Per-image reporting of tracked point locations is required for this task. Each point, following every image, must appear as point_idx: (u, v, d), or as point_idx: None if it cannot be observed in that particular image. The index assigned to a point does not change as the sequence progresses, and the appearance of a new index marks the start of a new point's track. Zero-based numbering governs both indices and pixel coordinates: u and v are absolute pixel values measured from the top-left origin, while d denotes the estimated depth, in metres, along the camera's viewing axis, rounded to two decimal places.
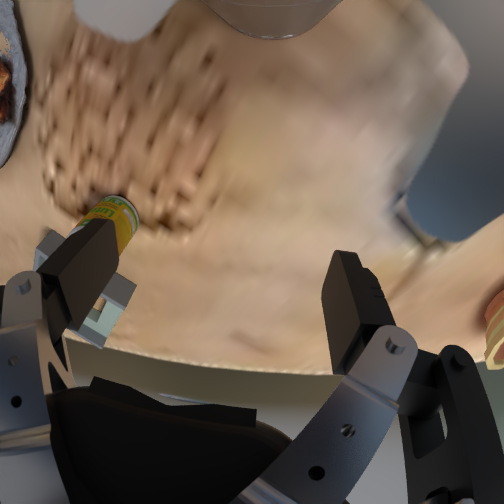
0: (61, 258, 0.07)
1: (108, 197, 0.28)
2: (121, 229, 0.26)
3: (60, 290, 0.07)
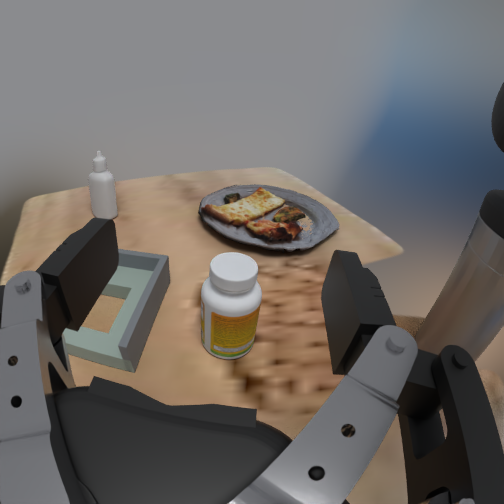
0: (61, 258, 0.07)
1: None
2: (251, 328, 0.26)
3: (60, 290, 0.07)
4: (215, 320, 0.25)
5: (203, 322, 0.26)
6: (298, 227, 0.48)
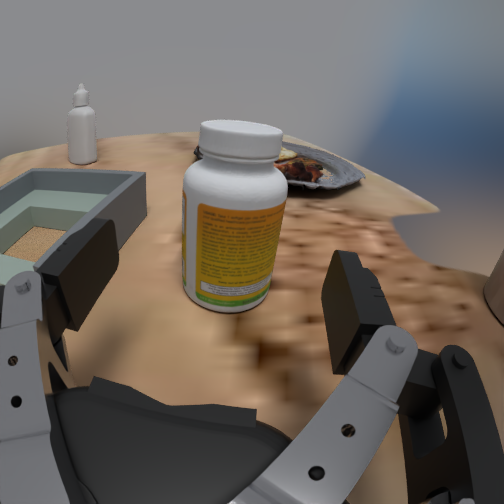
0: (61, 258, 0.07)
1: None
2: (270, 248, 0.15)
3: (60, 290, 0.07)
4: (204, 222, 0.13)
5: (184, 238, 0.15)
6: (318, 170, 0.37)
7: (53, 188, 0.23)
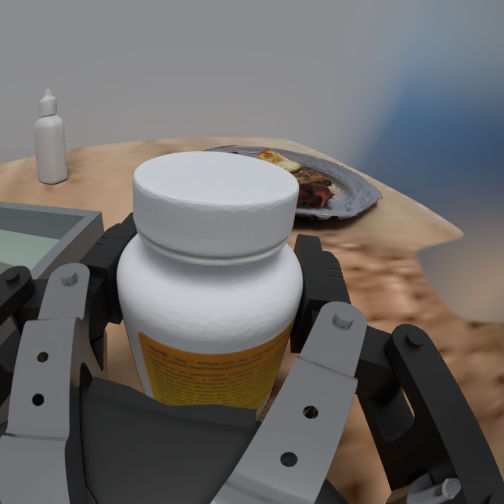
0: (106, 251, 0.08)
1: None
2: (269, 379, 0.09)
3: (107, 283, 0.08)
4: (153, 359, 0.07)
5: (133, 355, 0.09)
6: (328, 191, 0.31)
7: (2, 227, 0.16)
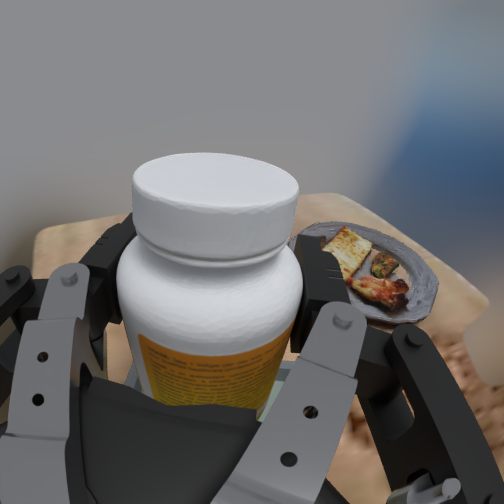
0: (106, 251, 0.08)
1: None
2: (269, 380, 0.09)
3: (107, 282, 0.08)
4: (153, 361, 0.07)
5: None
6: (407, 286, 0.37)
7: None
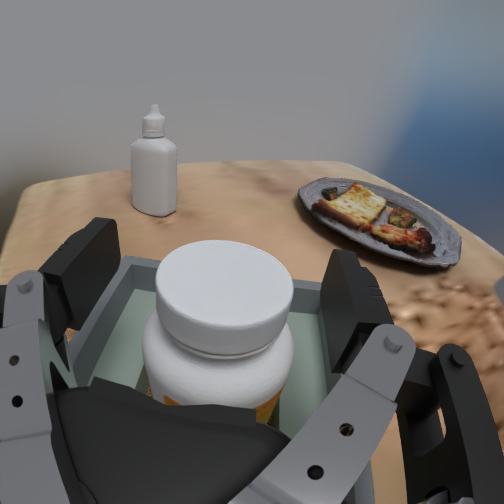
0: (63, 258, 0.07)
1: None
2: (265, 420, 0.10)
3: (62, 290, 0.07)
4: None
5: None
6: (430, 235, 0.33)
7: None
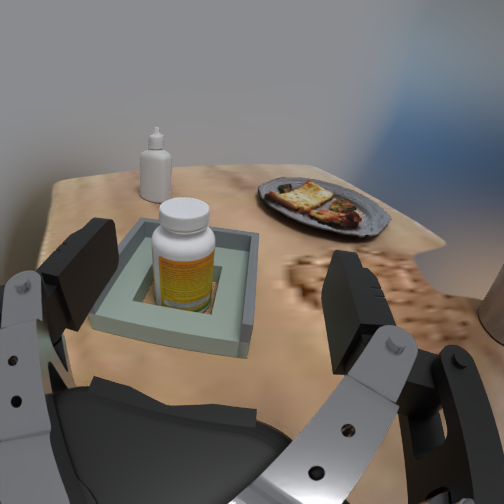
0: (61, 258, 0.07)
1: None
2: (203, 280, 0.24)
3: (60, 290, 0.07)
4: (162, 266, 0.23)
5: (153, 272, 0.24)
6: (359, 216, 0.47)
7: None
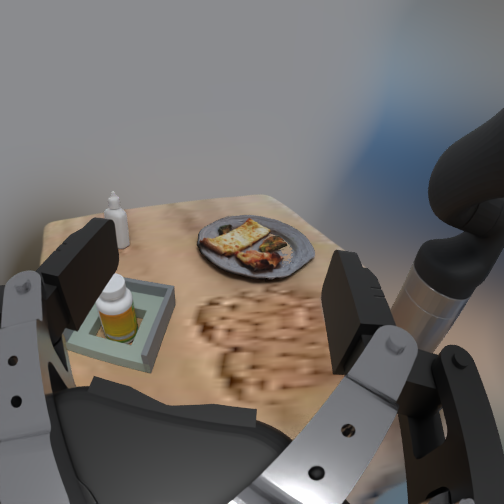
0: (61, 258, 0.07)
1: None
2: (126, 324, 0.36)
3: (60, 290, 0.07)
4: (101, 316, 0.35)
5: (99, 317, 0.37)
6: (279, 257, 0.59)
7: None
